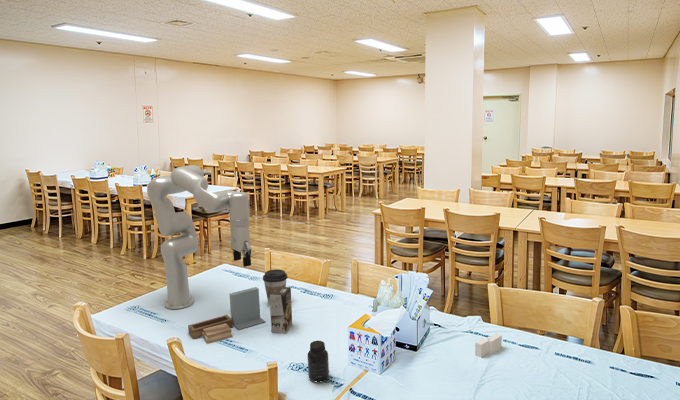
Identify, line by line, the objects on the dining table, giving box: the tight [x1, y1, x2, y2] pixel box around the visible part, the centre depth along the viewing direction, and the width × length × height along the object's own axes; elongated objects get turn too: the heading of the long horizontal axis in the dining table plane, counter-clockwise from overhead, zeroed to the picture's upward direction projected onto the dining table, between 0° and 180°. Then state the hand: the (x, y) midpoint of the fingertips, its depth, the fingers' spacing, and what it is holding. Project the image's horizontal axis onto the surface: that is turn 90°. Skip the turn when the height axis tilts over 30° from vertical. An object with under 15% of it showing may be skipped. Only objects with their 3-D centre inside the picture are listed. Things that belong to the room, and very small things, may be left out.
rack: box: [187, 314, 234, 340], centre depth 190 cm, size 6×16×4 cm, turn 125°
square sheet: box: [228, 286, 261, 325], centre depth 197 cm, size 2×12×13 cm, turn 125°
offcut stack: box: [201, 323, 233, 345], centre depth 185 cm, size 7×10×4 cm
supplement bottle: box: [307, 340, 330, 383], centre depth 154 cm, size 7×7×12 cm
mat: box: [233, 316, 267, 331], centre depth 198 cm, size 12×12×1 cm
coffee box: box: [269, 286, 293, 334], centre depth 190 cm, size 9×6×16 cm
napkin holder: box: [474, 333, 503, 358], centre depth 168 cm, size 15×11×6 cm
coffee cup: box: [262, 268, 288, 306], centre depth 215 cm, size 11×11×15 cm
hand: (242, 263), depth 194 cm, fingers open, 9 cm apart
